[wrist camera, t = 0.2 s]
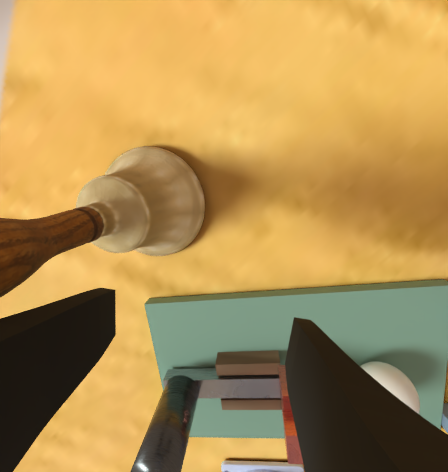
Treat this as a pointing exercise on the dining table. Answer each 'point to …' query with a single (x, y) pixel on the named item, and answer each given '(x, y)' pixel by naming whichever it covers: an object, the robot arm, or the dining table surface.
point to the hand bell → (112, 215)
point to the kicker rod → (183, 408)
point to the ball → (394, 382)
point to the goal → (445, 417)
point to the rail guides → (249, 366)
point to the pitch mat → (279, 330)
